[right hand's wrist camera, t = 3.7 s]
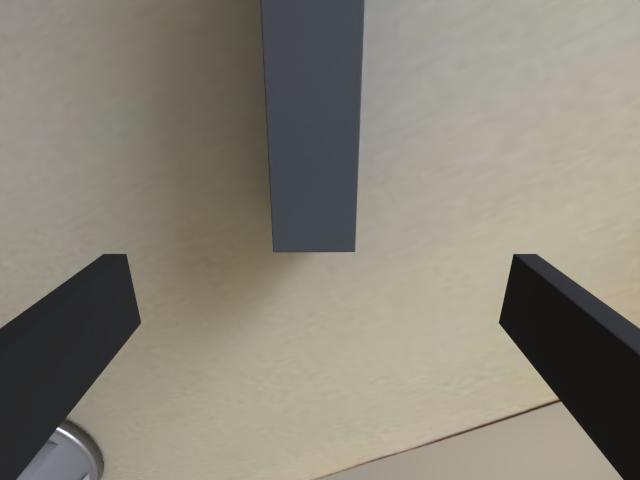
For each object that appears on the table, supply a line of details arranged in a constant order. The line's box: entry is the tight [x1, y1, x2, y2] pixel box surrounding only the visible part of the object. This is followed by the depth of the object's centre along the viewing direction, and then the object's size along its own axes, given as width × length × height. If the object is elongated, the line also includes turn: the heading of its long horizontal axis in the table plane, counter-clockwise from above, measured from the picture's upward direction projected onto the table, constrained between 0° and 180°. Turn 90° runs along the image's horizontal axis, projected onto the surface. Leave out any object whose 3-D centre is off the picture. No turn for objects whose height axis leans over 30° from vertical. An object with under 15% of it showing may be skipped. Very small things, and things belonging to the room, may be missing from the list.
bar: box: [261, 0, 365, 252], centre depth 24 cm, size 25×6×8 cm, turn 0°
